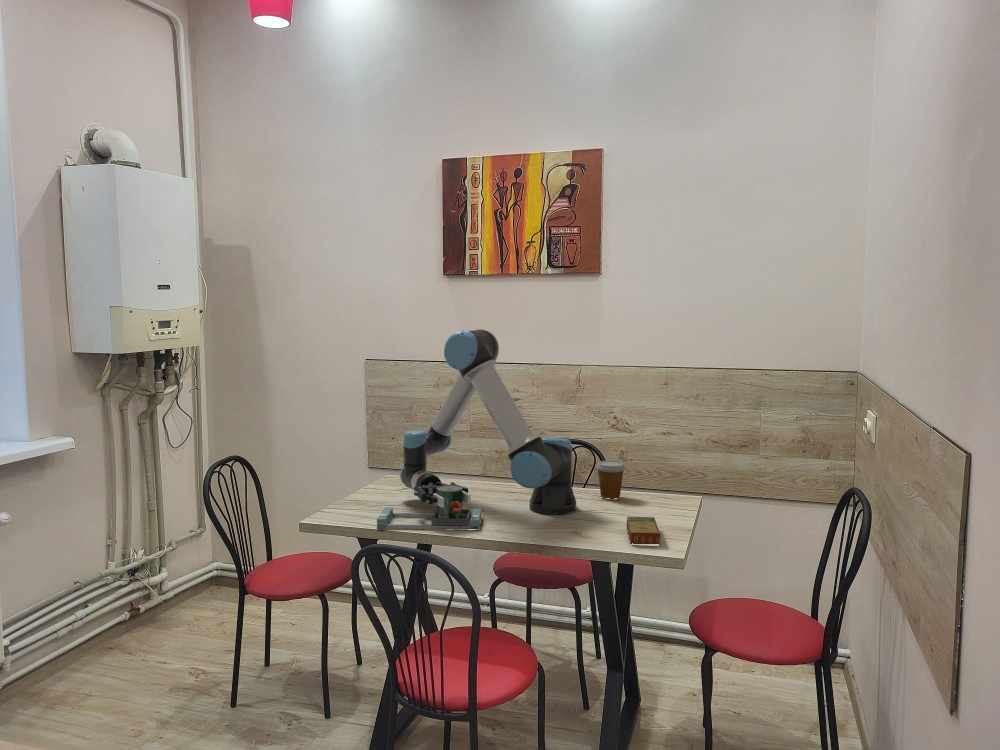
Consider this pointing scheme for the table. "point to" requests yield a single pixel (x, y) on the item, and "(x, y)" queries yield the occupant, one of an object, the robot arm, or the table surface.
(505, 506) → the table surface
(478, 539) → the table surface
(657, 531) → the carton
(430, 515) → the rail
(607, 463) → the disposable coffee cup
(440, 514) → the canned tomato
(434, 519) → the carriage
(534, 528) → the table surface
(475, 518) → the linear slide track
